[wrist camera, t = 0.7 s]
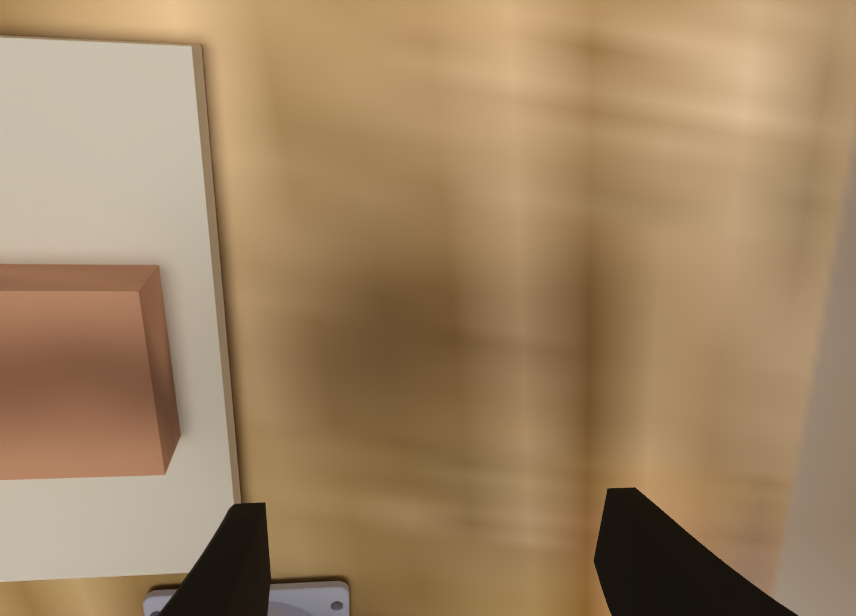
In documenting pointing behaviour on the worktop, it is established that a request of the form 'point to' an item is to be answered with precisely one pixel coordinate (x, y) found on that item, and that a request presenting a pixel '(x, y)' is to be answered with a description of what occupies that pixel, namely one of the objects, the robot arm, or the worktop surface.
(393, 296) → the worktop surface
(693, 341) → the worktop surface
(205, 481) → the board
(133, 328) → the block
